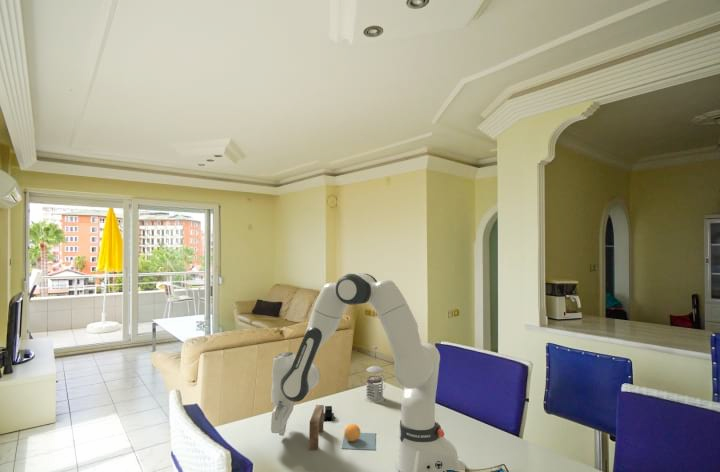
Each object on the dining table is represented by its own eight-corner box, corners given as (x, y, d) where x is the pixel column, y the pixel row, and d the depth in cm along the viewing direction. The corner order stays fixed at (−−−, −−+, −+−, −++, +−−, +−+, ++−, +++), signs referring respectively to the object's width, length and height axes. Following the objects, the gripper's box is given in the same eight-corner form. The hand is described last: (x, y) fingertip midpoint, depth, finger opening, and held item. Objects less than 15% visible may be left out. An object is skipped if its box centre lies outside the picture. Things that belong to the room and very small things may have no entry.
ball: (347, 419, 145) (343, 434, 145) (345, 426, 139) (341, 442, 139) (362, 423, 145) (358, 438, 145) (361, 430, 139) (357, 446, 139)
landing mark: (375, 433, 147) (375, 433, 147) (375, 450, 135) (375, 449, 135) (344, 432, 148) (344, 432, 148) (341, 448, 136) (341, 448, 136)
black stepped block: (337, 425, 156) (337, 413, 156) (319, 425, 155) (319, 414, 155) (335, 412, 168) (336, 401, 168) (319, 412, 167) (319, 402, 167)
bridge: (323, 430, 150) (323, 405, 150) (317, 450, 135) (317, 422, 135) (315, 429, 150) (316, 404, 150) (309, 449, 135) (309, 422, 135)
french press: (375, 393, 189) (376, 342, 190) (391, 400, 180) (392, 347, 181) (360, 397, 183) (360, 345, 184) (375, 405, 174) (376, 350, 175)
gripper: (284, 408, 133) (283, 448, 133) (297, 387, 153) (296, 421, 153) (266, 407, 133) (266, 447, 133) (281, 386, 154) (280, 421, 153)
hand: (282, 433), depth 143 cm, fingers closed
